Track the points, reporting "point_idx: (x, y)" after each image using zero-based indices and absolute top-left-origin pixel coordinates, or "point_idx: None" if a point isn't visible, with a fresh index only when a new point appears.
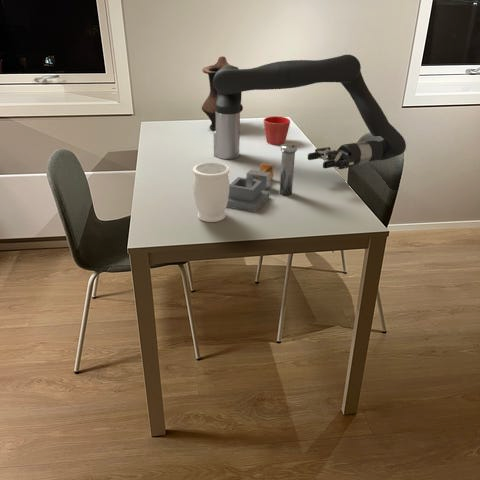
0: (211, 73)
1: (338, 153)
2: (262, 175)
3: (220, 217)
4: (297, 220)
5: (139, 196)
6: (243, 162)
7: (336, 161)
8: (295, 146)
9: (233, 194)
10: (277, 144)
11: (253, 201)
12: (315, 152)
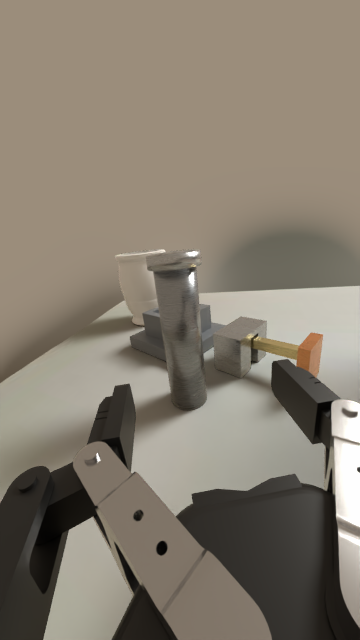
0: None
1: (207, 556)
2: (222, 329)
3: (133, 318)
4: (54, 384)
5: (228, 292)
6: None
7: (79, 460)
8: (162, 255)
9: None
10: None
11: (148, 335)
12: (313, 388)
